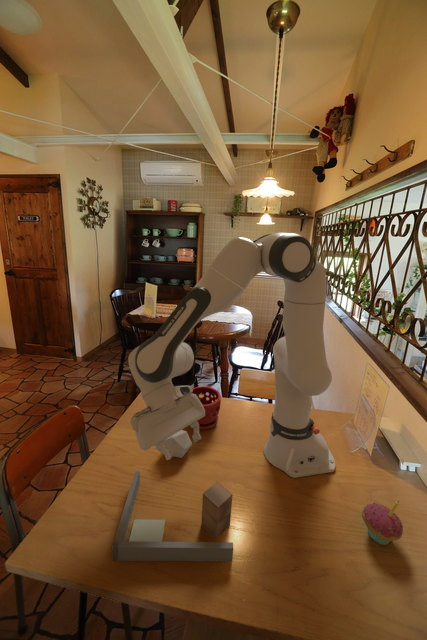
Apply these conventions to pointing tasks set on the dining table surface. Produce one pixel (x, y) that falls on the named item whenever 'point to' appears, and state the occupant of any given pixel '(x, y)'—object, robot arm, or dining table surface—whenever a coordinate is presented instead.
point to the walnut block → (216, 509)
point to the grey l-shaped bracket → (160, 540)
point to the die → (178, 443)
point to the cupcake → (382, 523)
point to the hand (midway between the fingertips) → (185, 449)
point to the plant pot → (208, 406)
